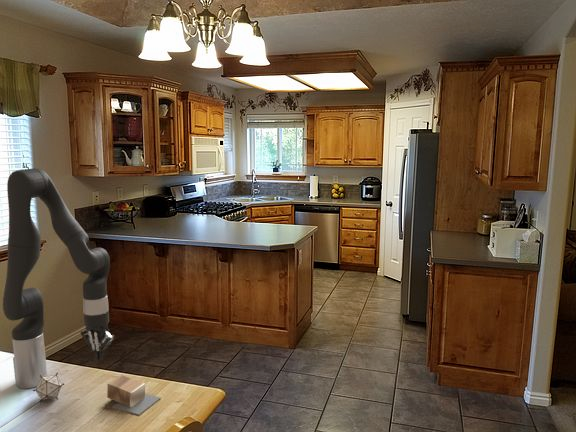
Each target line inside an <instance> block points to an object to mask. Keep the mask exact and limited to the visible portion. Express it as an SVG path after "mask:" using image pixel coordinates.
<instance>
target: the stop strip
mask: <svg viewBox="0 0 576 432" xmlns="http://www.w3.org/2000/svg"><path fill="white" fill-rule="evenodd" d="M116 403H117V401H114V400H112V399H111V401H110V402H108V403H106V404H105V409H108V410H111V409H112V406H113V405H114V404H116Z"/></svg>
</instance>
